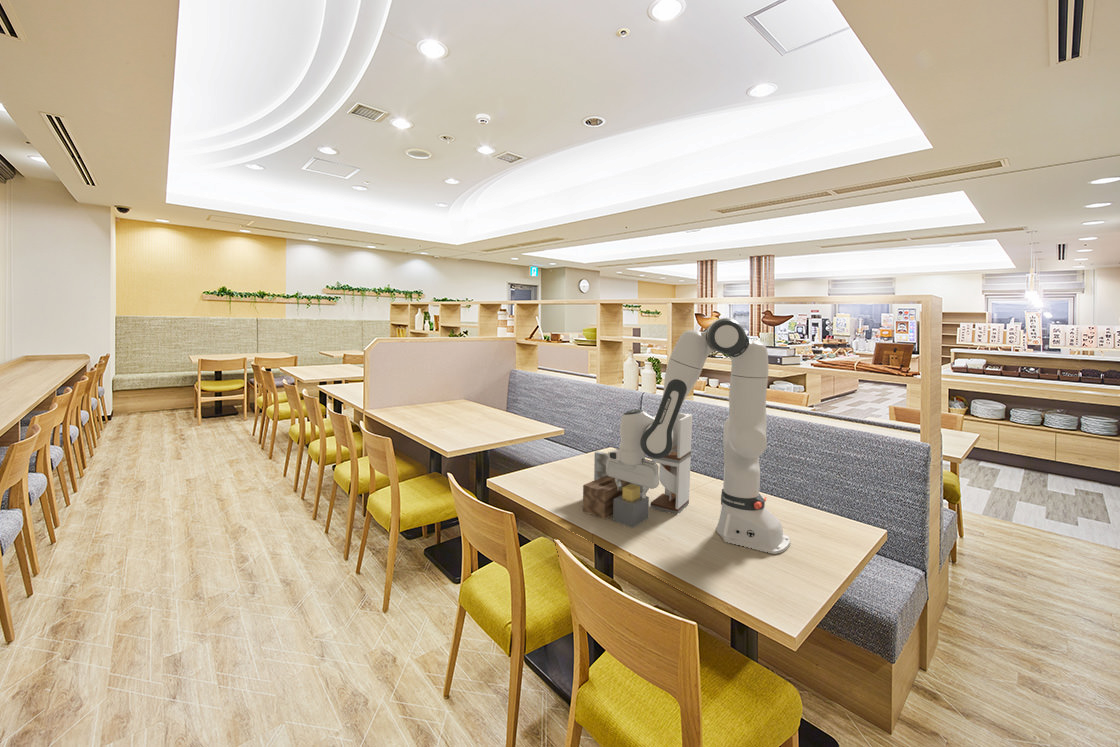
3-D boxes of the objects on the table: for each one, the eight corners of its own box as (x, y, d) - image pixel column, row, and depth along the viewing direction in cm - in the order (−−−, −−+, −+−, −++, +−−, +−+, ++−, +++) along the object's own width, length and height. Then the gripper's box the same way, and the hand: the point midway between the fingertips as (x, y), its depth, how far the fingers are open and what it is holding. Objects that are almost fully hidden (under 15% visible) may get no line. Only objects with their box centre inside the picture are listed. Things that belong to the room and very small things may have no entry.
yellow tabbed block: (639, 508, 167) (640, 486, 166) (631, 512, 163) (632, 490, 162) (630, 505, 170) (630, 483, 169) (622, 509, 166) (622, 487, 165)
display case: (662, 498, 187) (665, 411, 182) (688, 504, 181) (692, 414, 176) (650, 507, 177) (653, 416, 173) (677, 514, 171) (681, 420, 167)
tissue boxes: (643, 510, 175) (645, 463, 173) (618, 524, 163) (619, 474, 161) (597, 494, 190) (597, 451, 188) (570, 506, 178) (571, 460, 176)
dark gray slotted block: (648, 518, 168) (648, 496, 167) (632, 527, 161) (632, 505, 160) (629, 512, 173) (629, 491, 172) (613, 520, 166) (613, 498, 165)
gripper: (663, 460, 159) (662, 499, 161) (614, 448, 173) (613, 484, 175) (653, 464, 155) (652, 504, 157) (603, 452, 169) (603, 489, 170)
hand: (631, 494), depth 166 cm, fingers open, 8 cm apart
